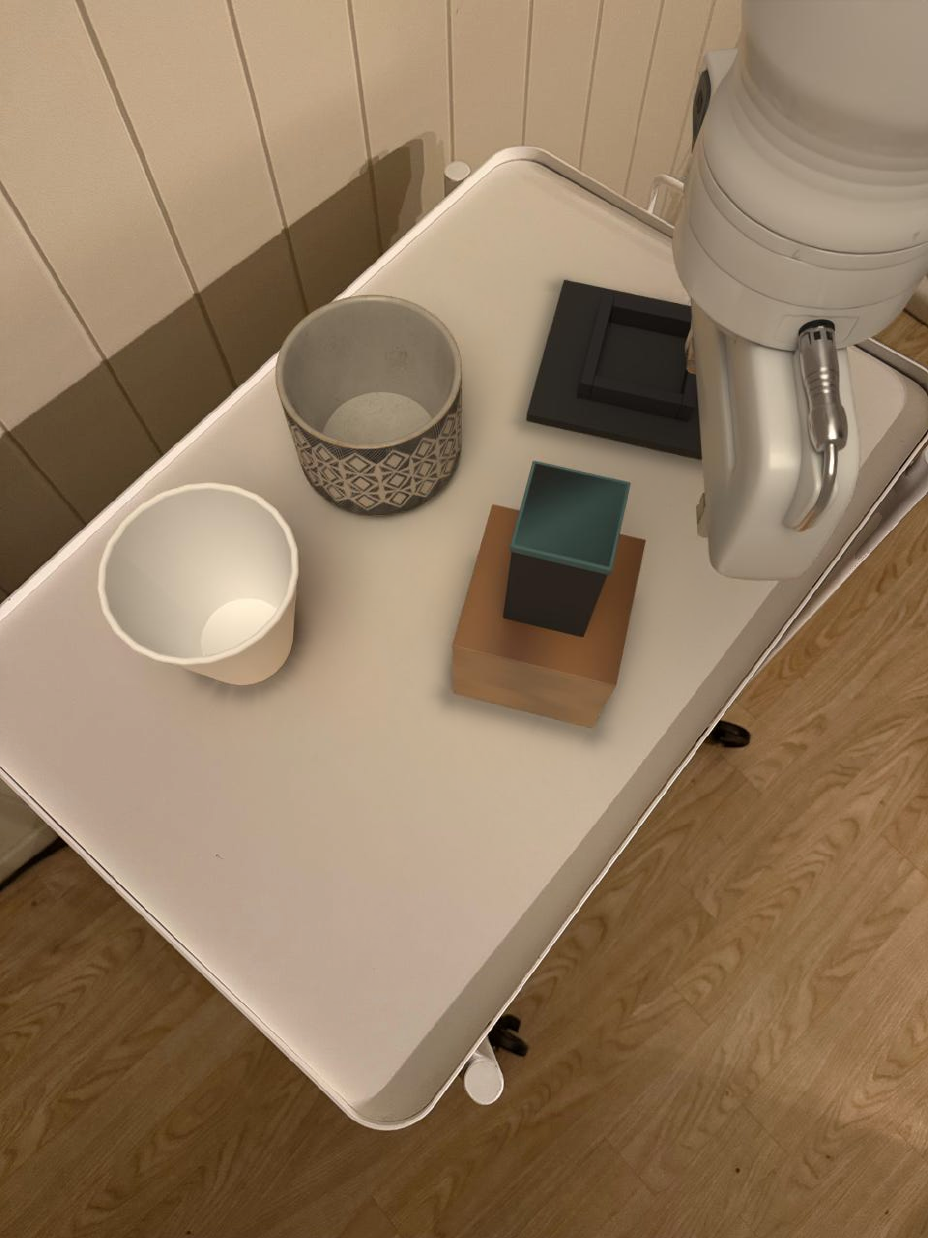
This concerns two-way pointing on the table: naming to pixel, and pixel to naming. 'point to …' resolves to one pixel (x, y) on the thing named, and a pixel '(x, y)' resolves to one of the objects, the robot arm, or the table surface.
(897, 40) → the robot arm
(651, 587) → the table surface
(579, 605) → the pad block
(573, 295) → the base pad
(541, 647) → the block
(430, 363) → the planter
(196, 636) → the cup
